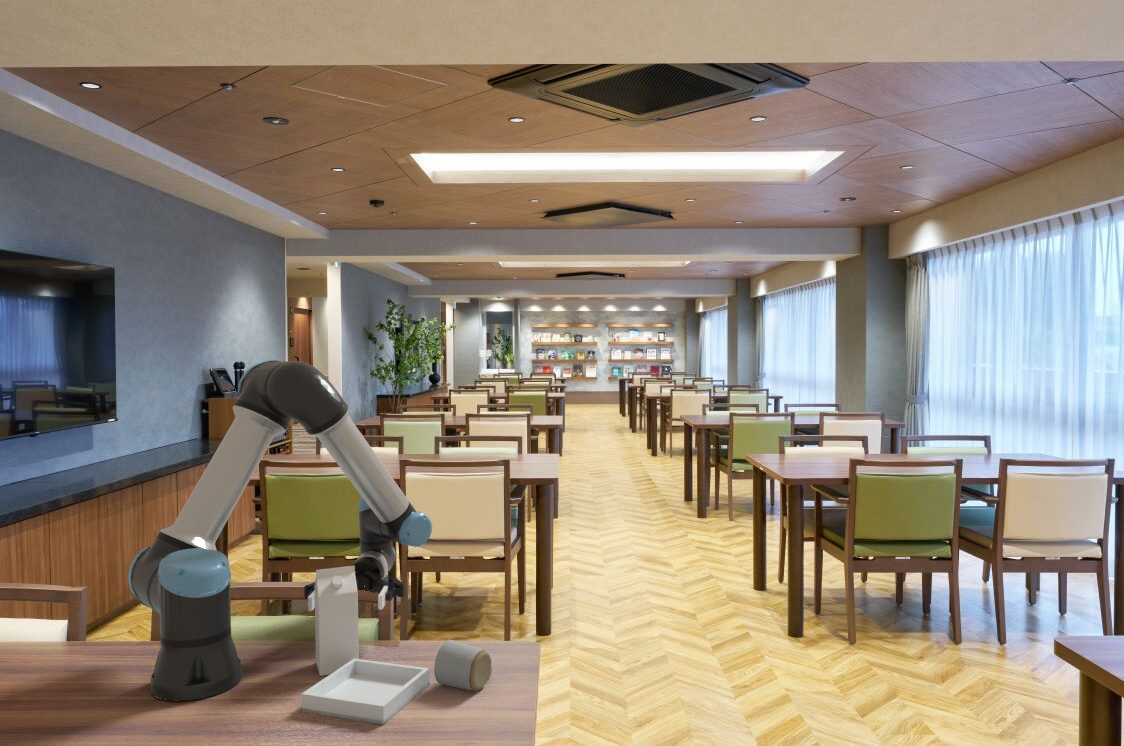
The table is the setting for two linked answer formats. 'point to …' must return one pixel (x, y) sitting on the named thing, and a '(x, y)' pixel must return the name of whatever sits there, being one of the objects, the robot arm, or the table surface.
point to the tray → (366, 691)
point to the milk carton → (336, 618)
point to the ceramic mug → (462, 666)
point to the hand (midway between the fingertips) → (345, 603)
